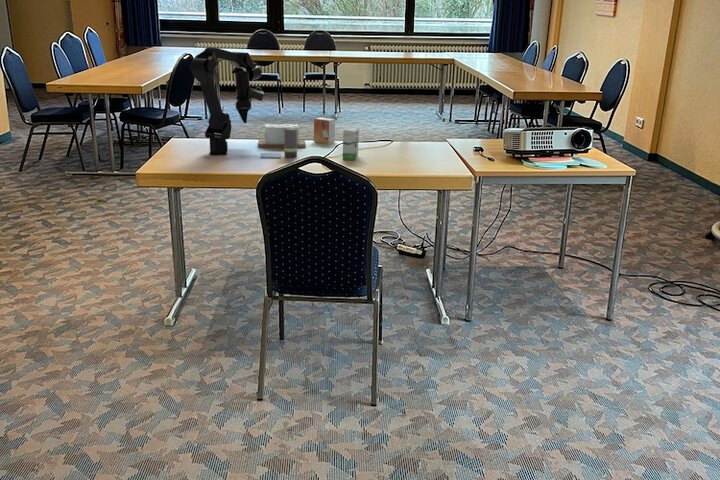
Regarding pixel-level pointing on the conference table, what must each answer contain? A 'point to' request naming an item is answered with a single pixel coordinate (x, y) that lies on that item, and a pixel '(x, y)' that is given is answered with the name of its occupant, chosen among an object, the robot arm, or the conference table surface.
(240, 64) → the robot arm
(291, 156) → the cartridge
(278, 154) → the slate mat
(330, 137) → the small box
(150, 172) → the conference table surface
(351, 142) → the ink box
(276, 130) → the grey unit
